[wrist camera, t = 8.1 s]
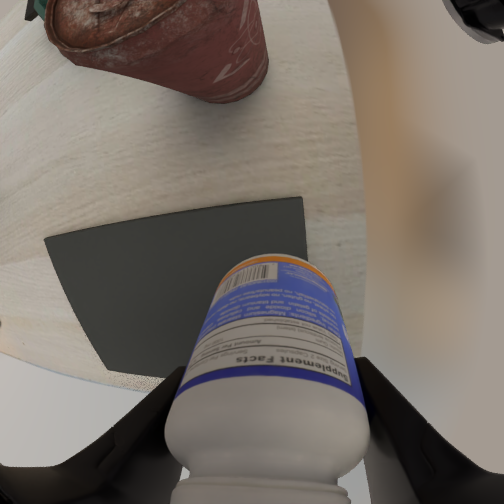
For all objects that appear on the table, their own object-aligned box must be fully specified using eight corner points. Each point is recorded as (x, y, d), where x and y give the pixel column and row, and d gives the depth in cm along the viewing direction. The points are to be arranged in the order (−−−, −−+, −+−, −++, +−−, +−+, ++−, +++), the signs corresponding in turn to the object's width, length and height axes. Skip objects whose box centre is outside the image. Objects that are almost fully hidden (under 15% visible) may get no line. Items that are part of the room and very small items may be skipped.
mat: (301, 196, 19) (302, 198, 18) (311, 375, 27) (311, 379, 26) (46, 237, 23) (43, 239, 22) (109, 367, 31) (107, 370, 30)
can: (241, 14, 13) (180, -115, 1) (284, 80, 16) (291, -33, 3) (168, 53, 15) (25, -8, 2) (206, 119, 17) (60, 112, 5)
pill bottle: (313, 356, 13) (323, 544, 4) (208, 336, 13) (151, 527, 4) (353, 263, 11) (441, 511, 2) (222, 235, 11) (102, 505, 2)
